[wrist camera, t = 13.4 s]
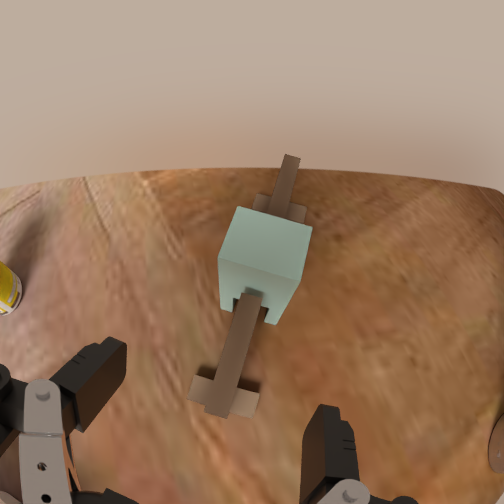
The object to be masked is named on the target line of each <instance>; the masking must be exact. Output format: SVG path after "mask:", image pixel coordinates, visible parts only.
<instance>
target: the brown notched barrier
mask: <svg viewBox="0 0 504 504" xmlns="http://www.w3.org/2000/svg"><path fill="white" fill-rule="evenodd" d="M299 163H300V158H297V157H294V156H290V155H287V154H285V156H284V159H283V163H282V166H281V169H280V172H279V175H278V178H277V181H276V185H275V188H274V191H273V194H272V197H270V196H266V195H262V194H259V193H257V194H256V197H255V200H254V203H253V206H252V208H251V210H255V211H258V212H262V213H265V214H269V215H272V216H276V217H279V218H283V219H286V220H290V221H293V222H297V223H300V224H303V223H304V219H305V214H306V210H307V207H306V206H302V205H299V204H295V203H292V202H289V201H290V198H291V194H292V190H293V186H294V182H295V179H296V175H297V171H298V167H299ZM262 300H263V298H260V297H256V296H253V295H249V294H246V293H242V292H241V296H240V299H239V302H238V305H237V308H236V311H235V315H234V318H233V321H232V324H231V327H230V330H229V333H228V337H227V340H226V343H225V346H224V349H223V352H222V355H221V359H220V362H219V365H218V368H217V371H216V374H215V377H214V381H213V380H210V379H207V378H204V377H201V376H198V375H194V378H193V381H192V384H191V387H190V390H189V393H188V396H187V399H188V400H191V401H194V402H197V403H200V404H203V405H206V406H205V409H204V412H206V413H209V414H212V415H215V416H219V417H222V418H225V419H227V417H228V414H229V413H233V414H237V415H240V416H244V417H248V418H251V419H253V416H254V413H255V409H256V406H257V402H258V399H259V395H260V394H259V393H255V392H251V391H247V390H244V389H240V388H237V385H238V381H239V378H240V375H241V371H242V368H243V365H244V361H245V358H246V355H247V351H248V348H249V344H250V341H251V338H252V334H253V331H254V327H255V324H256V320H257V317H258V313H259V310H260V307H261V303H262Z"/></svg>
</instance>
